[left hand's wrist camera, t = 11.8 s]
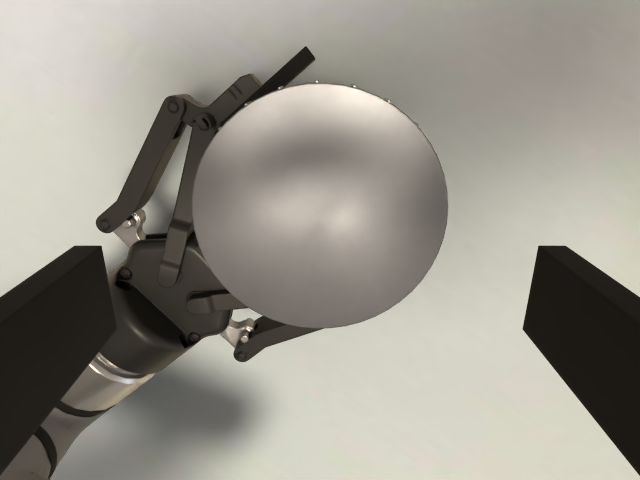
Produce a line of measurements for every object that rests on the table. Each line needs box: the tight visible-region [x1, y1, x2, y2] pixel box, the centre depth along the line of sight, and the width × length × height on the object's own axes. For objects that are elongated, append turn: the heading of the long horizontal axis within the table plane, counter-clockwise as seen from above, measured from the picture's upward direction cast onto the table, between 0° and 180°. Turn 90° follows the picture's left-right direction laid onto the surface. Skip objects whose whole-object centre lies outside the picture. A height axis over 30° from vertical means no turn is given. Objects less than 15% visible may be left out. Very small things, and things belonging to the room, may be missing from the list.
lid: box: [192, 80, 448, 328], centre depth 20 cm, size 11×11×2 cm
